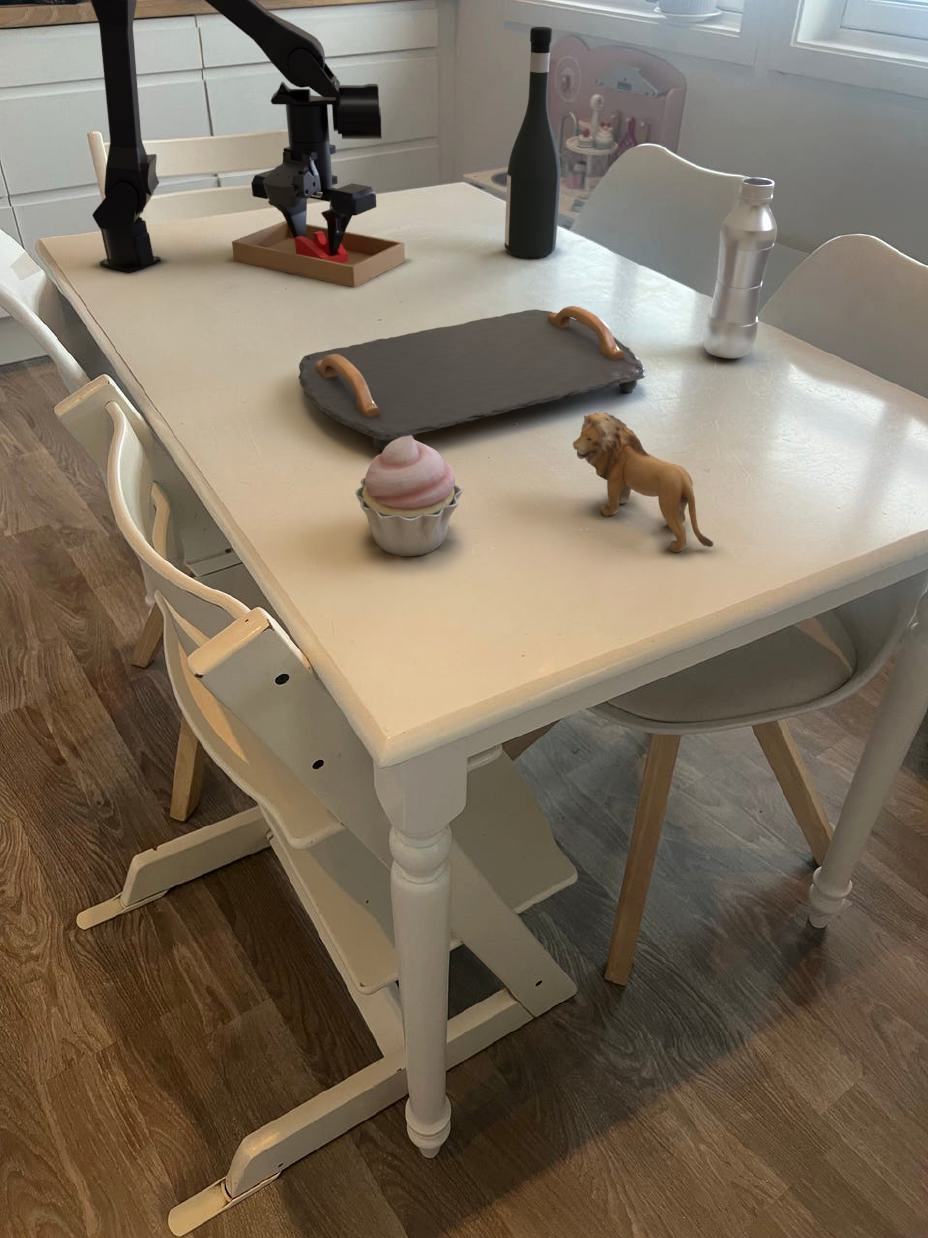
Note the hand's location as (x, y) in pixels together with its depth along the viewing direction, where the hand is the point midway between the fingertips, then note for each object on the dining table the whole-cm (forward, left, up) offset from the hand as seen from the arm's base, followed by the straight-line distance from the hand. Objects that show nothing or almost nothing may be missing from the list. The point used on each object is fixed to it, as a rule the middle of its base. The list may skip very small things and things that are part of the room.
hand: (317, 252), depth 144 cm
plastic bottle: (+64, -2, -2) cm, 64 cm away
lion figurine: (+69, -44, -2) cm, 82 cm away
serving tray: (+42, -27, -1) cm, 50 cm away
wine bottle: (+25, +21, -2) cm, 33 cm away
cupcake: (+53, -57, -2) cm, 78 cm away
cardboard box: (0, 0, -1) cm, 1 cm away
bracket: (+1, 0, -1) cm, 1 cm away
